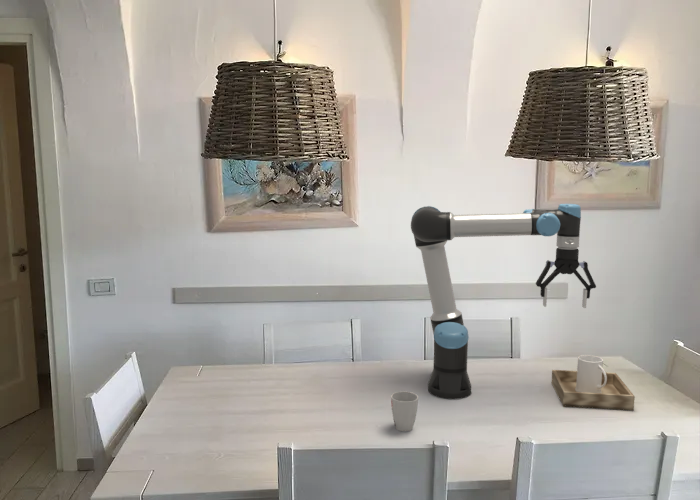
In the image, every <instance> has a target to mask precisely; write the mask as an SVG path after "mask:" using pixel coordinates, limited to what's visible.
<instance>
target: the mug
mask: <svg viewBox="0 0 700 500" xmlns="http://www.w3.org/2000/svg"><path fill="white" fill-rule="evenodd" d="M603 365H604V359H603V358H602V357H600V356H596V355H593V354H580V355H579V356H578V357H577V366H576V367H577V368H576V371H577V382H576V388H575V390H576V392H587V393H602V391H601V388H603V387H604V386H605V385H606V382H607V376H606V373H605V372H606V371H605V369H604V368H603ZM602 372H603V374H604V377H605V381H604V384H603V385H602V386H601V383H602Z"/></svg>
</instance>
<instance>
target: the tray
mask: <svg viewBox="0 0 700 500" xmlns="http://www.w3.org/2000/svg"><path fill="white" fill-rule="evenodd" d="M605 373H606V376H607V382H606V385H605V386H604V387H603V388H601V391H602V393H587V392H576V390H575V388H576V382H577V370H567V369H566V370H564V369H563V370H562V369H551V381H550V382H551V385H552V387H553V389H554V391H555V393H556V396H557V397H558V399H559V401H560V403H561V405H562V407H565V408H578V409H596V410H597V409H598V410H610V411H613V410H615V411H627V412H628V411H629V412H633V411H635V410H634V409H635V398H636V397H635V395H634V393H633V392H632V391H631V390H630V389H629V387H628V386H627V385H626V384H625V382H624V381H623V380H622V378H620V376H619V375H618V374H617V373H616V372H608V371H607V372H606V371H605ZM604 381H605V377H604V374H603V372H602V383H601V386H602V385H603V384H604Z"/></svg>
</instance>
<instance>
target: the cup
mask: <svg viewBox="0 0 700 500" xmlns="http://www.w3.org/2000/svg"><path fill="white" fill-rule="evenodd" d="M390 402H391V413H392V420H393V423H394V426H395V429H396V430H397V431H399V432H410V431H412V430H413V428H414V425H415V422H416V419H417V418H416V416H417V414H418V413H417V412H418V404H419V395H418V394H416V393H414V392H412V391H411V392H410V391H405V390H404V391H403V390H401V391H397V392H393V393H392V394H391V396H390Z"/></svg>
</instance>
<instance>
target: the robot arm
mask: <svg viewBox="0 0 700 500" xmlns="http://www.w3.org/2000/svg"><path fill="white" fill-rule="evenodd" d="M581 212H582V208H581V205H579V204H575V203H560V204H558V207H557V208H556V209H541V208H540V209H535V208H531V209H530V208H529V209H525V210H523V212H522V213H521V212H520V213H518V212H517V213H513V212H512V213H484V214H483V213H481V214H480V213H479V214H478V213H477V214H476V213H474V214H453V212H451V211H447V212H446V211H440V210H439V209H438V208H436V207H435V206H431V205H428V206H423V207H420V208H418V209H417V210H415V212H414V213H413V215H412V217H411V221H410V230H411V233H412V235H413V237H414V238H413V239H414V242H415V243H414V244H415V247H416V248H417V249H418V250H420V252H421V257H422V262H423V267H424V272H425V276H426V277H425V278H426V282H427V287H428V293H429V297H430V302H431V308H432V315H430V323H431V329H432V334H433V366H432V367H433V368H432V372H431V375H430V377H429V381H428V383H427V392H428V393H430V395H432V396H434V397H437V398H440V399H445V400H459V399H465V398H468V397H469V396H471V395H472V383H471V380H470V376H469V374H468V351H469V350H468V347H469V346H468V345H469V339H470V337H469V330H468V328H467V327H466V326H465V324H464V318H463V313H462V312H461V310H459V309H458V308H457V305H456V300H455V293H454V290H453V284H452V279H451V273H450V269H449V264H448V263H449V262H448V257H447V251H446V247H445V245H446V244H447V242H448V241H452V240H453V239H455V238H468V237H469V238H471V237H473V238H474V237H509V236H510V237H512V236H513V237H516V236H517V237H519V236H543V237H552V236H555V235H556V247H557V248H555V261H551V260H549V259H548V260H546V262H545V265H544V268H543V270H542V271H541V274H540V275H539V276H538V278H537V280H536V282H535V285H536V287H538V288H540V297H541V298H542V306H543V307H545V308H546V307H547V300H548V299H547V298H548V288H547V286H548V285H549V284H550V283H551V282H552V281H553V280H554V279H555V278H556V277H557V276H558V275H560V274H561V275H566V274H567V275H574V276H575V277H577V279H578V280H579V282H580V283H581V284H582V285H583V286H584V287H585V288H583V289H582V303H581V304H582V305H581V306H582V308H583V309H587V300H588V299H590V297H591V290H592V289H596V288H597V285H596V283H595V281H594V279H593V277H592V275H591V272H590V270H589V265H588V262H587V261H585V260H583V261H581V262H580V261H579V251H580V250H579V247H580V231H581V221H582V220H581V219H582V213H581ZM553 266H554V267H555V268H554V270H553V272H552V273H551V274H550V275H548V276H547V274H548V272H550V271H549V270H550V269H551V268H553ZM579 267H581V268H582V270H583V272H584V274H585V276H586V278H587V280H588V282H589V284H588V283H587V281H586V280H585V278H584V277H582V276H581V274H580V273H579V271H578V270H577V269H578V268H579ZM545 277H546V279H545ZM544 279H545V280H544Z"/></svg>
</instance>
